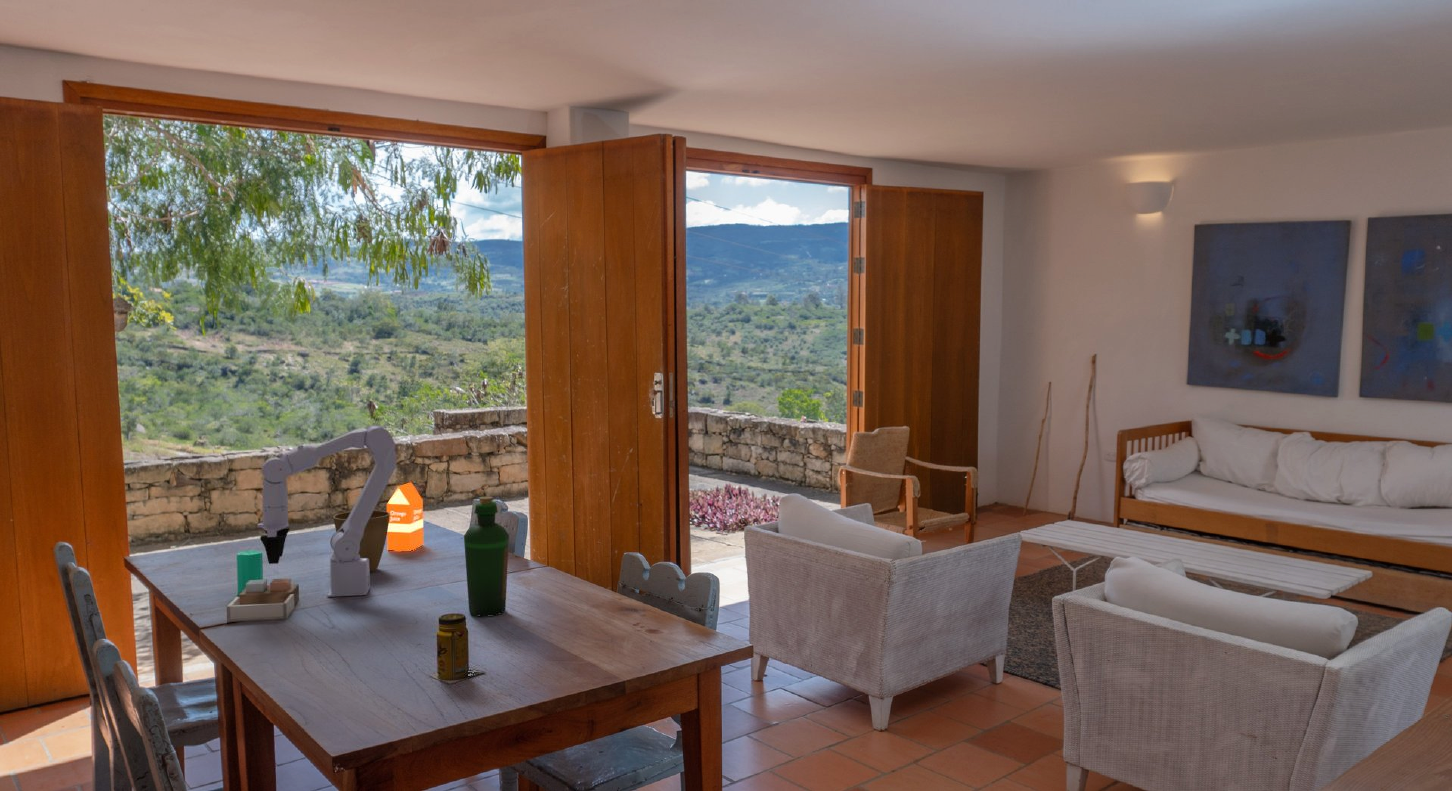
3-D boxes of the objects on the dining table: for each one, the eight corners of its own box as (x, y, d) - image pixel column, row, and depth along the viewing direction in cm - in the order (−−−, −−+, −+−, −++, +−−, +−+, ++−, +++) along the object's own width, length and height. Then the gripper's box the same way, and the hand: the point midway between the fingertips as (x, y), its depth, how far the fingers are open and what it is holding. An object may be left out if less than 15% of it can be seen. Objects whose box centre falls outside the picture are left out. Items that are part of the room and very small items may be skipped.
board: (299, 599, 252) (298, 583, 252) (292, 608, 245) (292, 592, 244) (247, 602, 250) (247, 586, 249) (239, 611, 242) (238, 594, 242)
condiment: (428, 676, 198) (427, 616, 198) (464, 665, 205) (463, 607, 204) (449, 684, 194) (449, 623, 193) (486, 673, 200) (485, 614, 199)
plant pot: (402, 568, 285) (401, 513, 284) (357, 579, 272) (356, 521, 271) (367, 561, 293) (366, 507, 292) (323, 572, 280) (322, 515, 279)
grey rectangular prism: (267, 587, 249) (267, 579, 248) (263, 591, 245) (263, 583, 245) (249, 588, 248) (249, 580, 248) (245, 592, 244) (245, 584, 244)
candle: (253, 596, 255) (251, 549, 254) (232, 594, 256) (231, 548, 256) (268, 590, 261) (267, 544, 260) (248, 588, 262) (246, 543, 261)
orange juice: (386, 550, 307) (385, 486, 306) (400, 544, 316) (399, 481, 314) (410, 551, 306) (409, 487, 304) (424, 545, 314) (423, 482, 313)
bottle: (518, 609, 245) (517, 495, 243) (491, 621, 235) (489, 502, 233) (483, 604, 249) (482, 492, 247) (455, 615, 240) (453, 499, 238)
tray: (294, 608, 244) (294, 594, 244) (286, 618, 236) (286, 603, 236) (236, 611, 242) (236, 596, 241) (227, 621, 233) (226, 606, 233)
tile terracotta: (291, 586, 250) (290, 578, 250) (287, 590, 246) (287, 582, 246) (273, 587, 249) (273, 579, 249) (270, 591, 245) (269, 583, 245)
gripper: (261, 501, 256) (261, 554, 257) (253, 511, 242) (253, 567, 243) (291, 500, 258) (291, 553, 259) (285, 510, 244) (285, 565, 245)
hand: (275, 559), depth 251 cm, fingers open, 7 cm apart
